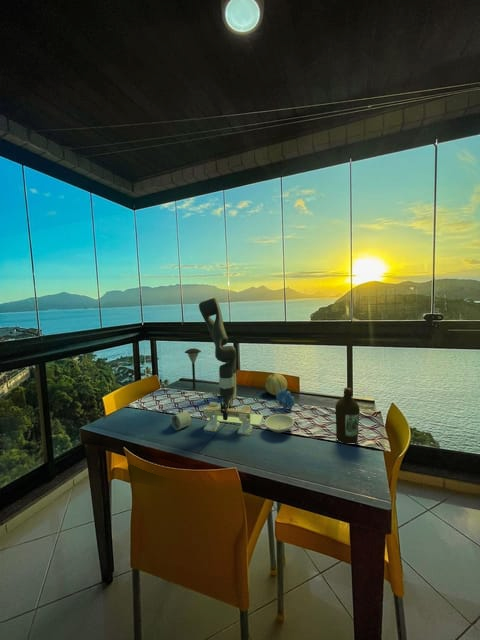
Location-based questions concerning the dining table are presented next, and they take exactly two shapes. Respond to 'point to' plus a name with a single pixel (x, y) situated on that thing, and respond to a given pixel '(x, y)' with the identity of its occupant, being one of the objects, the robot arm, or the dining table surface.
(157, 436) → the dining table surface
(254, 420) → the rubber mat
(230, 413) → the birch batten
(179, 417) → the ceramic mug
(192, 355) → the solar garden light
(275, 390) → the cantaloupe
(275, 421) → the dish
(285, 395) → the grapes
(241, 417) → the hook rack
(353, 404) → the olive oil
